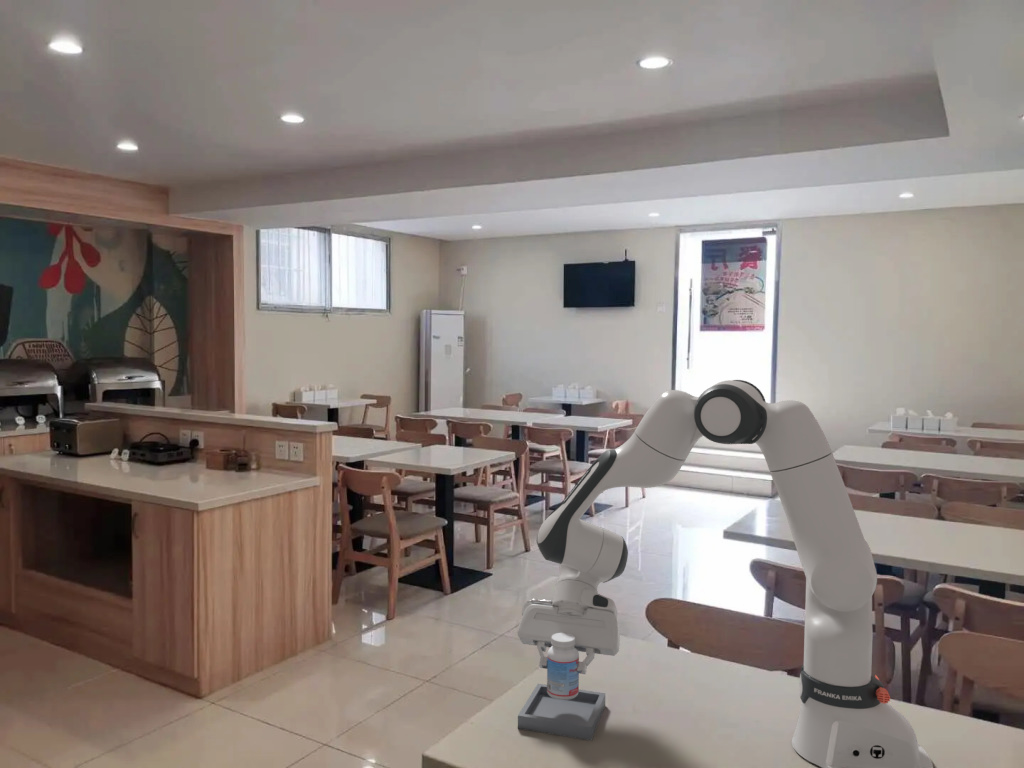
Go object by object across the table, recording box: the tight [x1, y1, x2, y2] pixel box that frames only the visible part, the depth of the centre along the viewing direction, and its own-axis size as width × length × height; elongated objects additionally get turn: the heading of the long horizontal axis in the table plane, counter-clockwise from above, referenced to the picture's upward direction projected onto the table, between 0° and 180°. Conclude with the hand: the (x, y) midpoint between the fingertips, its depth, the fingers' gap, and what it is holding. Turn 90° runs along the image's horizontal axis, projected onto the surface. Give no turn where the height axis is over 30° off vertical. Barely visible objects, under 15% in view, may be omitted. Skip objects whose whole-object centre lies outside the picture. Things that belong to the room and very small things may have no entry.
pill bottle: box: [546, 633, 580, 700], centre depth 147 cm, size 6×6×11 cm
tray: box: [517, 683, 606, 741], centre depth 147 cm, size 14×14×2 cm
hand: (562, 670), depth 146 cm, fingers closed on pill bottle, 6 cm apart
